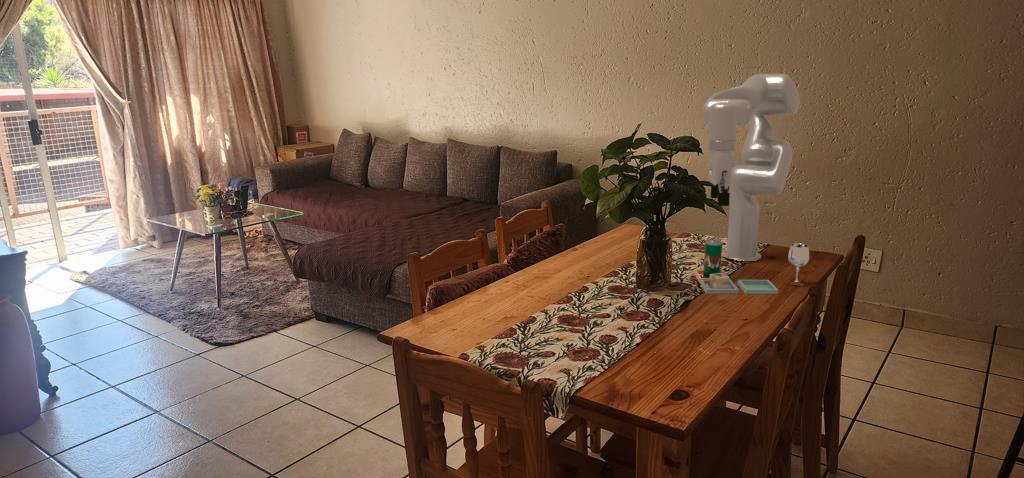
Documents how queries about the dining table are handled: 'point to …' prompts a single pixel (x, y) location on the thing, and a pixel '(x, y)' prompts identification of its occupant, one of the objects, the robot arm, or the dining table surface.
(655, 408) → the dining table surface
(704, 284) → the tray slate
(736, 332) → the dining table surface
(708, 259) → the soda can
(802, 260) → the wineglass
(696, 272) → the tray terracotta
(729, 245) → the robot arm
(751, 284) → the tray teal
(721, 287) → the letter cube
